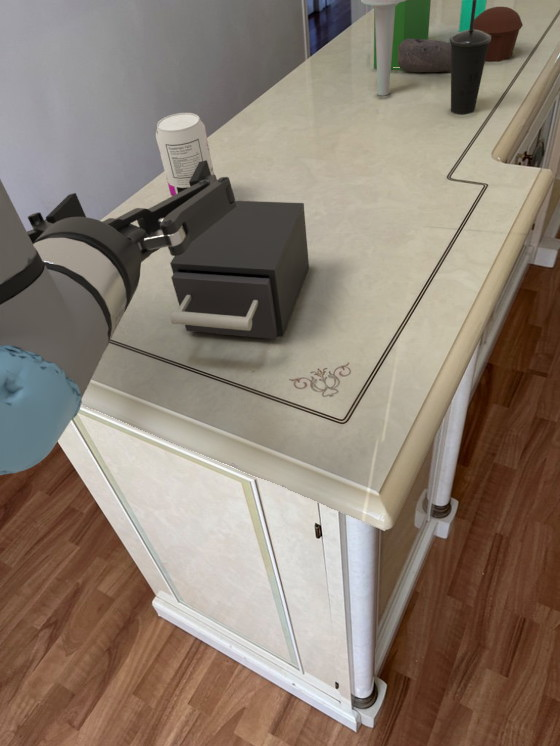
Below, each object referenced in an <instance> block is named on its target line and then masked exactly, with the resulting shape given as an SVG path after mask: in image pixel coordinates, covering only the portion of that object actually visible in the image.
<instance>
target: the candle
mask: <svg viewBox="0 0 560 746" xmlns="http://www.w3.org/2000/svg"><path fill="white" fill-rule="evenodd" d="M472 3H473V0H461V3H460V15H459V25H458V33H460V32H462V31H465V30H470V21H471V12H472ZM487 3H488V2H487V0H477V1H476V10H475V18H476V17H477V16H478V15H480V14H481V13H482V12H484V11H485V10H487V9H486V8H487ZM475 18H474V20H475Z"/></svg>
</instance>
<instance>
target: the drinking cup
mask: <svg viewBox="0 0 560 746" xmlns="http://www.w3.org/2000/svg"><path fill="white" fill-rule="evenodd" d="M476 1H477V0H473V3H472V12H471V21H470V30H465V31H462V32H460V33H459V32H457V33H456V34H453V35H451V36H450V38H449V43H451V70H450V111H451V113H453V114H455V115H468V114H472V113H473V112H475V109H476V105H477V101H478V96H479V91H480V86H481V82H482V77H483V73H484V69H485V63H486V62H485V59H486V54H487V49H488V45H489V42H490V41H491V36H490V35H489V34H487V33H484V32H482V31H480V30H473V27H474V18H475V10H476Z"/></svg>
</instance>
